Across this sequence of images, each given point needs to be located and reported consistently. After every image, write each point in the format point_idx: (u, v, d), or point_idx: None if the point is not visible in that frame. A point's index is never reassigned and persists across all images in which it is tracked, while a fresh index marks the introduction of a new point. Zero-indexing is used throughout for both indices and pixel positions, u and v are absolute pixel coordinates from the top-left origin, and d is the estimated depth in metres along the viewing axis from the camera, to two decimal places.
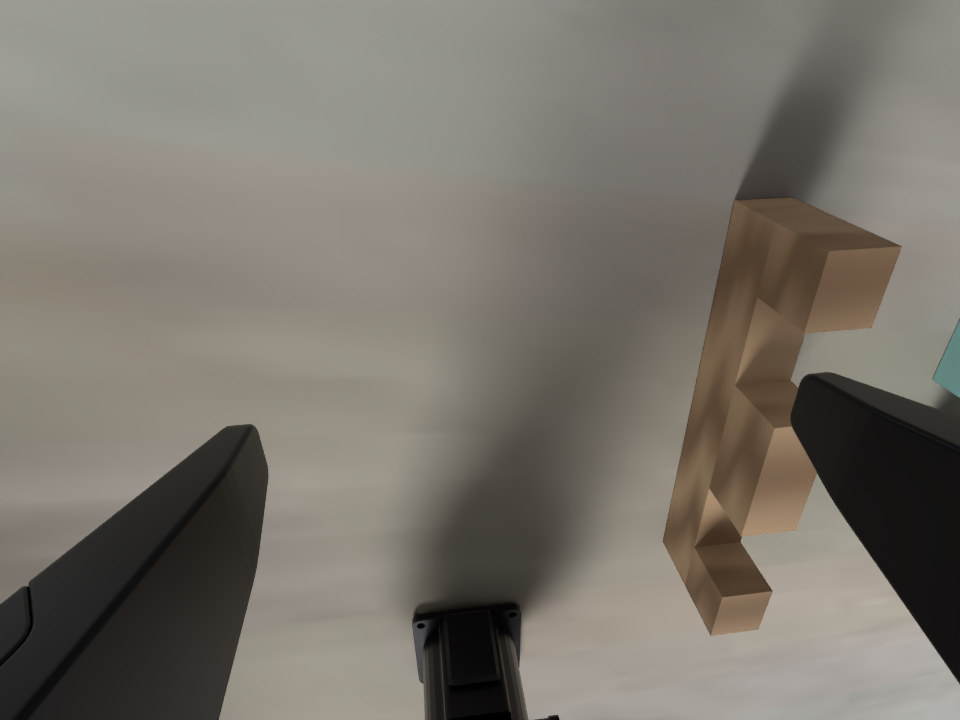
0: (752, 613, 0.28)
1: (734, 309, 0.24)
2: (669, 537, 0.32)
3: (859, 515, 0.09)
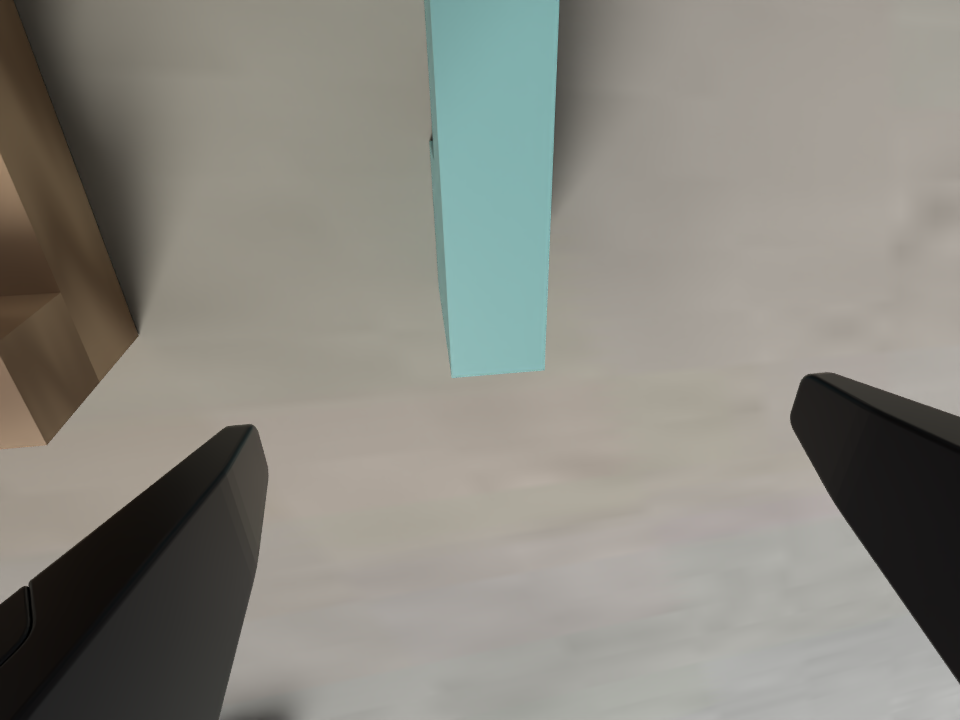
0: None
1: None
2: None
3: (859, 515, 0.09)
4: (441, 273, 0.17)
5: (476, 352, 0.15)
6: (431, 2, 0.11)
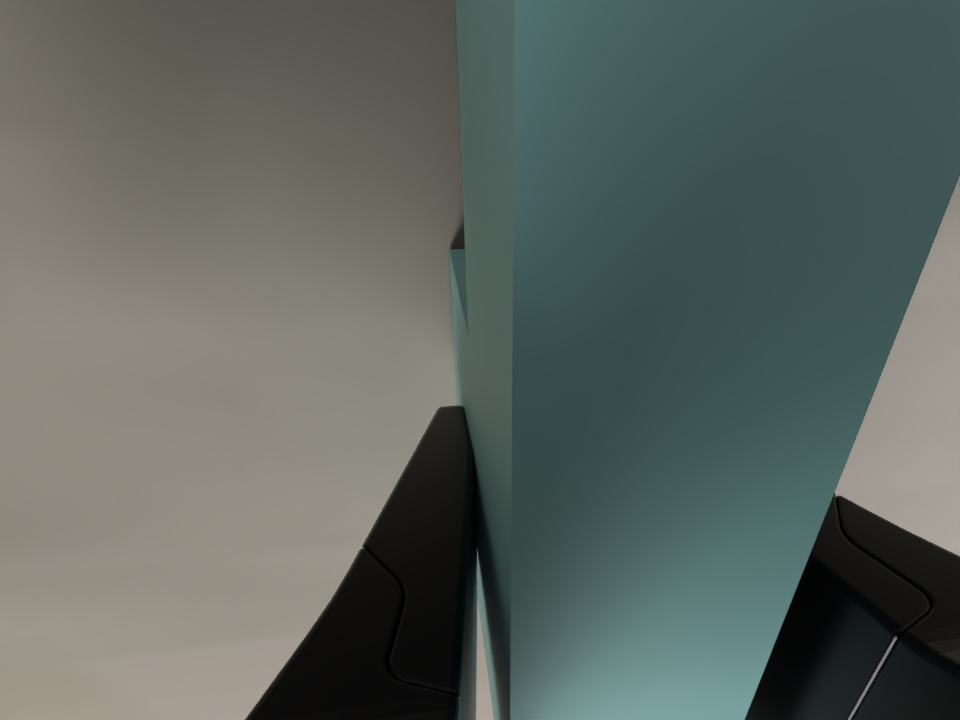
0: None
1: None
2: None
3: None
4: (477, 538, 0.08)
5: None
6: None
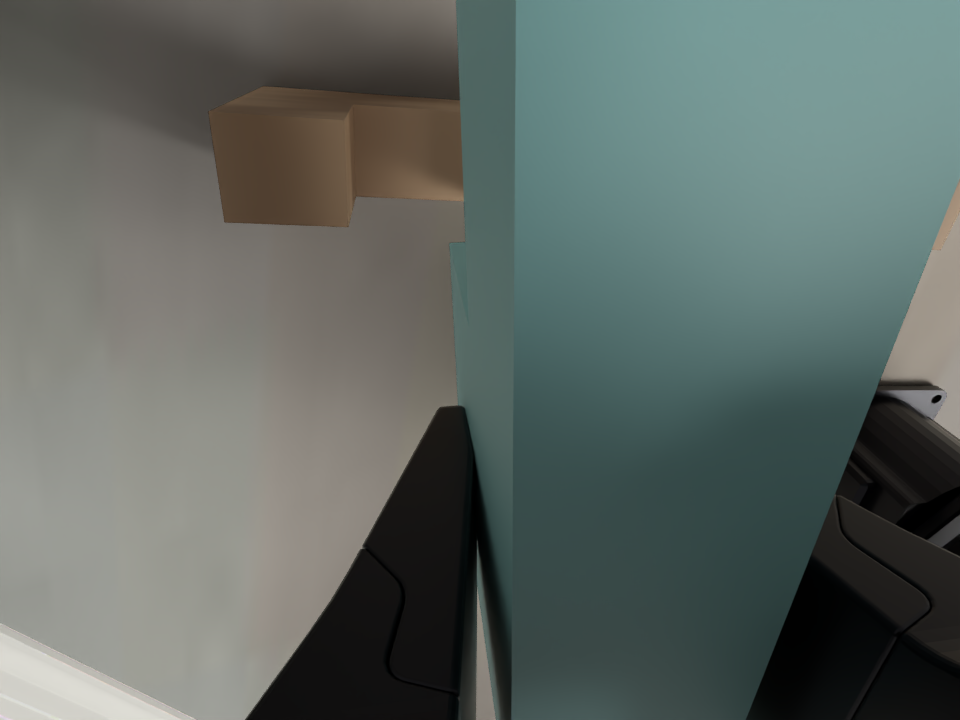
0: None
1: None
2: None
3: None
4: (478, 532, 0.08)
5: None
6: None
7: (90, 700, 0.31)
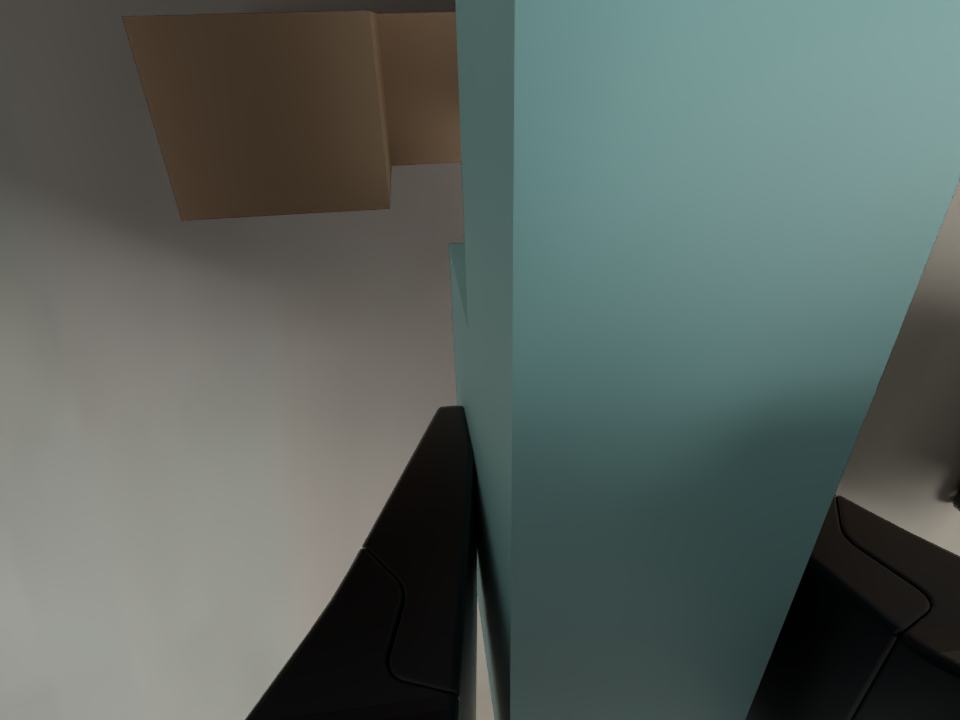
0: None
1: None
2: None
3: None
4: (477, 533, 0.08)
5: None
6: None
7: None
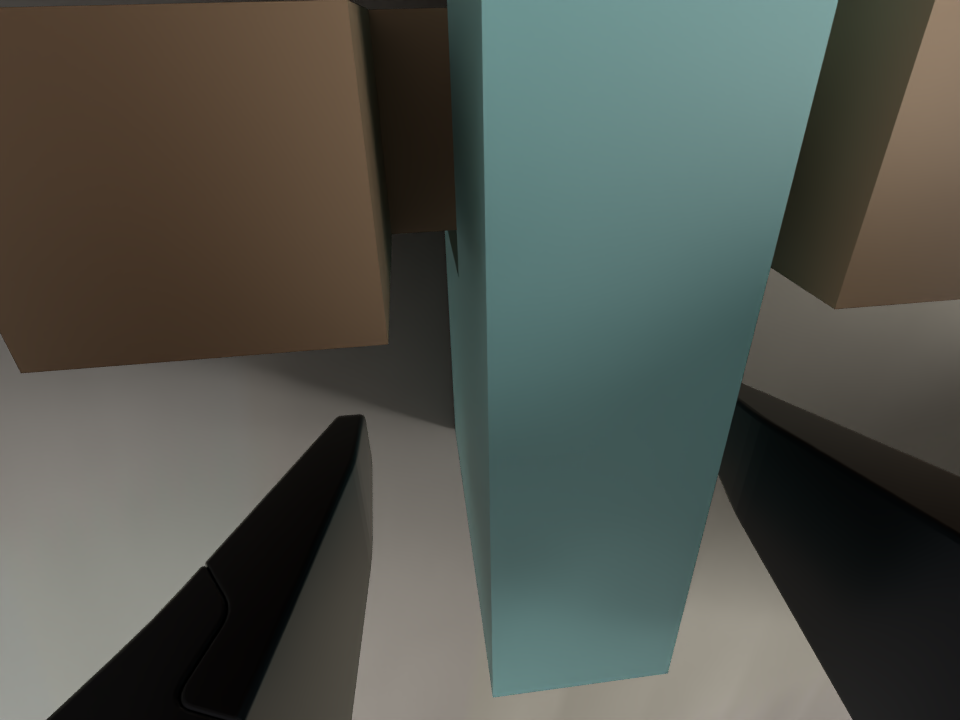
0: None
1: None
2: None
3: (755, 527, 0.08)
4: (468, 462, 0.09)
5: (543, 659, 0.08)
6: None
7: None
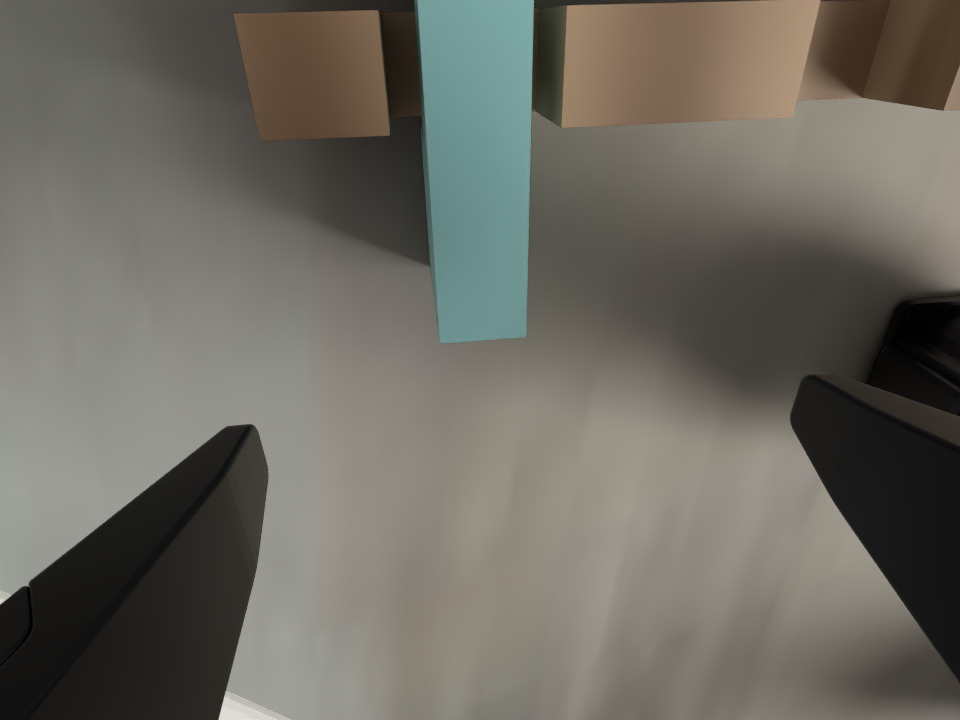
0: None
1: None
2: None
3: (859, 515, 0.09)
4: None
5: (462, 319, 0.16)
6: None
7: None
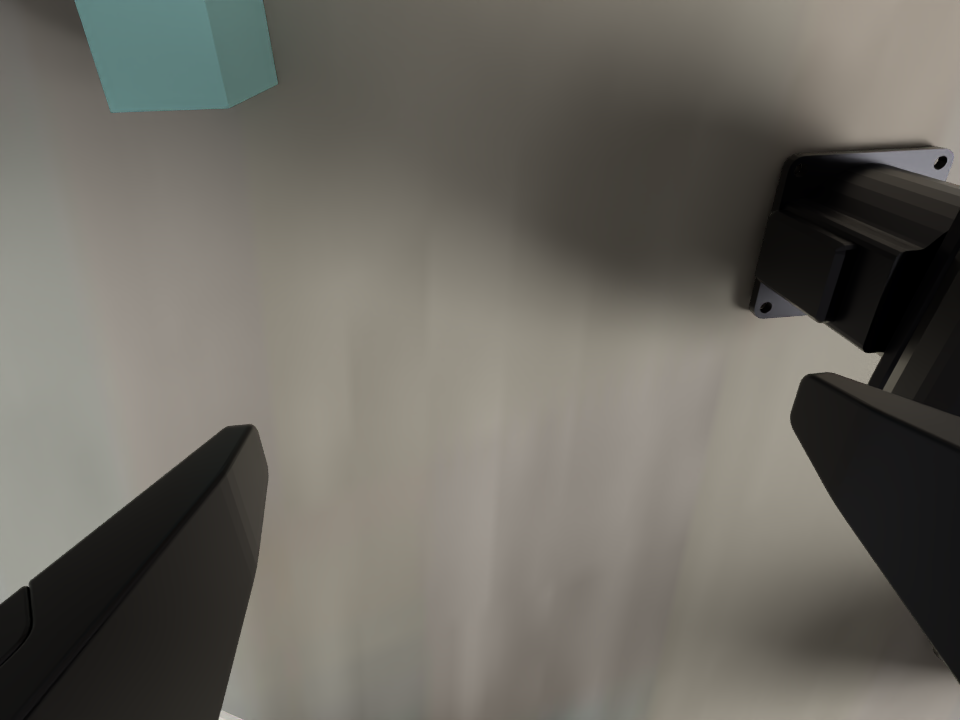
0: None
1: None
2: None
3: (859, 515, 0.09)
4: None
5: (132, 75, 0.12)
6: None
7: None
